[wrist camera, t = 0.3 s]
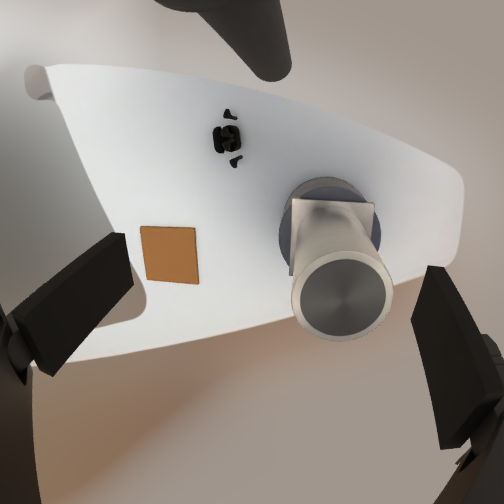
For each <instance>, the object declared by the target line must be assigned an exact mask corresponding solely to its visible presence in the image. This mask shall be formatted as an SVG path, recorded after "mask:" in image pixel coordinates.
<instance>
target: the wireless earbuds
mask: <svg viewBox="0 0 504 504" xmlns="http://www.w3.org/2000/svg"><path fill="white" fill-rule="evenodd" d="M223 117H224V118H226V119H233V120H237V119H238V118H237V117H235V116H232V115H231V113H230V110H229V109H226V110H225V112H224V115H223ZM213 141H214V148H215V150H216V152H218V153H224V151H225V150H226V151H229V152H233V151H237V150H239V149H240V147H241V141H240V133H239V129H238V128H237V127H236V126H232V125H227V126H225V127H223V128H222V129H221V127H220V126H219V127H216V128H214V130H213ZM242 158H243V156H242V155H240V156H237V157H236V158H233V159H231V160H230V164H231V166H232V167H233V168H237V162H238V160H239V159H242Z"/></svg>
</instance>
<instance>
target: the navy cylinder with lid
mask: <svg viewBox="0 0 504 504" xmlns="http://www.w3.org/2000/svg"><path fill="white" fill-rule="evenodd" d="M374 206H375V204H374V203H373V202H367V201H366V200H365V198H364V197H363V196H362V195H361V194H360V193H359V192H358V191H357V190H356V189H355V188H354V187H353V186H352V185H350V184H349V183H347V182H345V181H343V180H341V179H337V178H332V177H320V178H315V179H311V180H309V181H307V182H305V183H303V184H302V185H300V186H299V187H298V188H297V189H296V190H295V191H294V192H293V193H292V194H291V196H290V197H289V199H288V201H287V203H286V205H285V208H284V212H283V216H282V220H281V224H280V228H279V245H280V250H281V253H282V255H283V257H284V259H285V261H286V263H287V264H288V266H289V276H293V273H294V262H295V251H296V239H297V233H298V230H299V227H300V225H301V224H302V222H303V221H304V219H305V218H306V217H307V216H308V215H310V214H311V213H313V212H314V211H316V210H319V209H321V208H326V207H338V208H342V209H345V210H347V211H349V212H351V213H352V214H353V215H355V216H356V217H357V219H358V220H359V221H360V222H361V224H362V226H363V228H364V229H365V231H366V233H367V234H368V236H369V238H370V240H371V241H372V243H373V245H374V247H375V249H376V250H377V252H378V250H379V246H380V240H381V230H380V224H379V220H378V218H377V215H376V213H375V211H374Z"/></svg>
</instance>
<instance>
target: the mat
mask: <svg viewBox="0 0 504 504" xmlns="http://www.w3.org/2000/svg"><path fill="white" fill-rule="evenodd" d="M140 234H141V242H142V249H143V257H144V264H145V270H146V277H147V280H154V281H164V282H175V283H186V284H197V285H198V284H199V276H198V264H197V251H196V237H195V228H184V227H149V226H141V227H140Z"/></svg>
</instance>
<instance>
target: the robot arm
mask: <svg viewBox="0 0 504 504" xmlns="http://www.w3.org/2000/svg"><path fill="white" fill-rule="evenodd" d="M133 285H134V282H133V277H132V273H131V267H130V262H129V256H128V251H127V245H126V239H125V233H115V232H111V233H110V234H109V235H107V236H106V237H105V238H103V239H102V240H100V241H99V242H98V243H96V244H95V245H94V246H92V247H91V248H90V249H88V250H87V251H86V252H84V253H83V254H82V255H80V256H79V257H78V258H76V259H75V260H74V261H73V262H71V263H70V264H69V265H67V266H66V267H65V268H64V269H62V270H61V271H60V272H58V273H57V274H56V275H55V276H54V277H52V278H51V279H50V280H49V281H47V282H46V283H44V284H43V285H42V286H41V287H39V288H38V289H37V290H36V291H35V292H33V293H32V294H31V295H30V296H29V297H28V298H26V299H25V300H24V301H23V302H21V303H20V304H19V305H18V306H17V307H16V308H15V309H14V310H12V311H11V312H10V313H9V314H8V315H7V316H5V314H4V311H3V309H2V307H1V304H0V504H41V498H40V492H39V486H38V480H37V472H36V463H35V453H34V442H33V425H32V424H33V422H32V376H33V372H32V367H31V365H30V363H31V362H32V361H33V360H34V361H35V362H36V364H37V366H38V368H39V370H40V371H42V372H44V373H46V374H48V375H50V376H52V377H53V376H54V375H55V374H56V373H57V371H58V370H59V369H60V368H61V367H62V365H63V364H64V363H65V362H66V361H67V359H68V358H69V357H70V356H71V355H72V354H73V352H74V351H75V350H76V349H77V348H78V347H79V345H80V344H81V343H82V342H83V341H84V340H85V338H86V337H87V336H88V335H89V334H90V333H91V332H92V330H93V329H94V328H95V327H96V326H97V325H98V324H99V322H100V321H101V320H102V319H103V318H104V317H105V316H106V315H107V314H108V312H109V311H110V310H111V309H112V308H113V307H114V306H115V305H116V304H117V303H118V301H119V300H120V299H121V298H122V297H123V296H124V295H125V294H126V293H127V292H128V291H129V289H130V288H131V287H132V286H133ZM411 323H412V326H413V330H414V333H415V336H416V340H417V344H418V347H419V351H420V355H421V358H422V363H423V366H424V370H425V375H426V379H427V383H428V387H429V392H430V396H431V401H432V406H433V411H434V416H435V422H436V427H437V432H438V438H439V445H440V449H441V450H444V449H453V448H460V447H461V446H462V445H463V444H464V443H465V442H466V441H467V440H468V439H469V437H470V441H471V447H470V449H469V450H468V451H467V452H466V453H465V454H464V455H463V456H462V457H461V458H459V459H458V461H457V462H456V463H455V464H457V465H458V464H459V463H460V464H459V466H458V467H457V469H456V471H455V472H454V474H453V475H452V477H451V478H450V480H449V482H448V483H447V485H446V486H445V488H444V489H443V491H442V492H441V493H440V495H439V496H438V498H437V499H436V500H435V502H434V504H504V359H503V357H501V353H500V350H499V348H498V346H497V344H496V343H495V342H494V341H493V340H492V339H491V338H490V337H489V336H488V335H487V334H481V333H480V331H479V329H478V327H477V326H476V323H475V322H474V320H473V318H472V316H471V314H470V312H469V310H468V308H467V306H466V304H465V303H464V301H463V299H462V297H461V295H460V294H459V292H458V291H457V288H456V287H455V285H454V283H453V282H452V280H451V278H450V277H449V275H448V273H447V272H446V270H445V268H444V267H438V266H429V265H428V267H427V270H426V274H425V277H424V281H423V284H422V287H421V290H420V294H419V296H418V300H417V303H416V305H415V308H414V311H413V314H412V317H411Z"/></svg>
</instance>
